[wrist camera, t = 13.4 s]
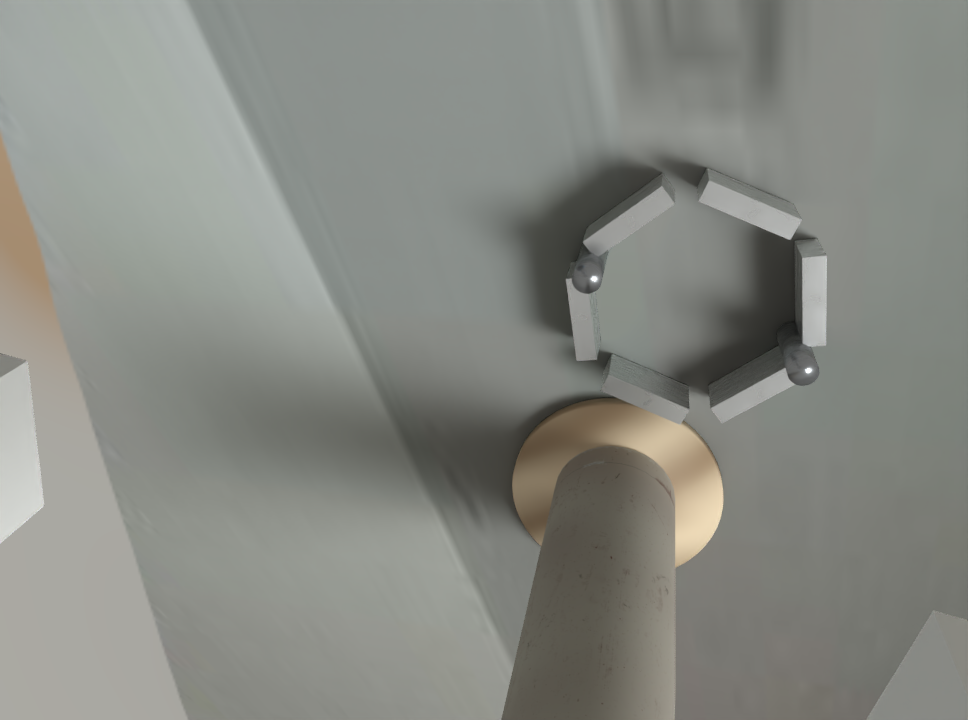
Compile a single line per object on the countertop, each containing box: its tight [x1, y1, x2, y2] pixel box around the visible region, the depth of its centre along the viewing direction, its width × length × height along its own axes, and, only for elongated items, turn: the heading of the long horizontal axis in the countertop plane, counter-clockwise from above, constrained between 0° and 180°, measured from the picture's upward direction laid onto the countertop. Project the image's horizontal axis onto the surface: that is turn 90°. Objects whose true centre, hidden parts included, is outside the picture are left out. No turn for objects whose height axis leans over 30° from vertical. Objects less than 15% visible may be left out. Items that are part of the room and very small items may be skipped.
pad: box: [512, 398, 723, 568], centre depth 54 cm, size 14×14×1 cm
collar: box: [566, 168, 827, 425], centre depth 45 cm, size 14×15×5 cm
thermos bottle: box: [501, 446, 675, 720], centre depth 41 cm, size 8×8×28 cm
